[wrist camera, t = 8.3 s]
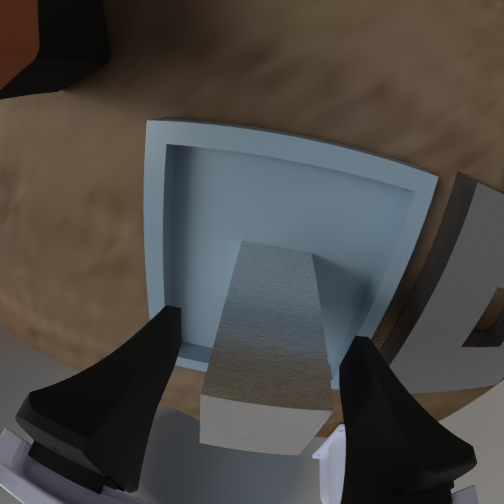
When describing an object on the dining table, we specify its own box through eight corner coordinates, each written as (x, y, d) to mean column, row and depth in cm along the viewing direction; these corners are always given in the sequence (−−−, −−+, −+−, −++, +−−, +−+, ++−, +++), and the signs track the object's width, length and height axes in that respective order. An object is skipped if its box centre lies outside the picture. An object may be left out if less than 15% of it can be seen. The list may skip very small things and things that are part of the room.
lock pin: (295, 306, 16) (298, 455, 8) (233, 296, 16) (199, 442, 9) (311, 252, 15) (333, 411, 7) (241, 240, 15) (200, 394, 7)
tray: (337, 368, 20) (340, 389, 18) (163, 340, 20) (155, 360, 18) (420, 166, 12) (438, 176, 11) (164, 117, 13) (146, 120, 11)
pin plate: (490, 370, 20) (497, 384, 18) (364, 373, 20) (369, 394, 18) (569, 233, 12) (582, 243, 10) (457, 171, 12) (477, 182, 10)
